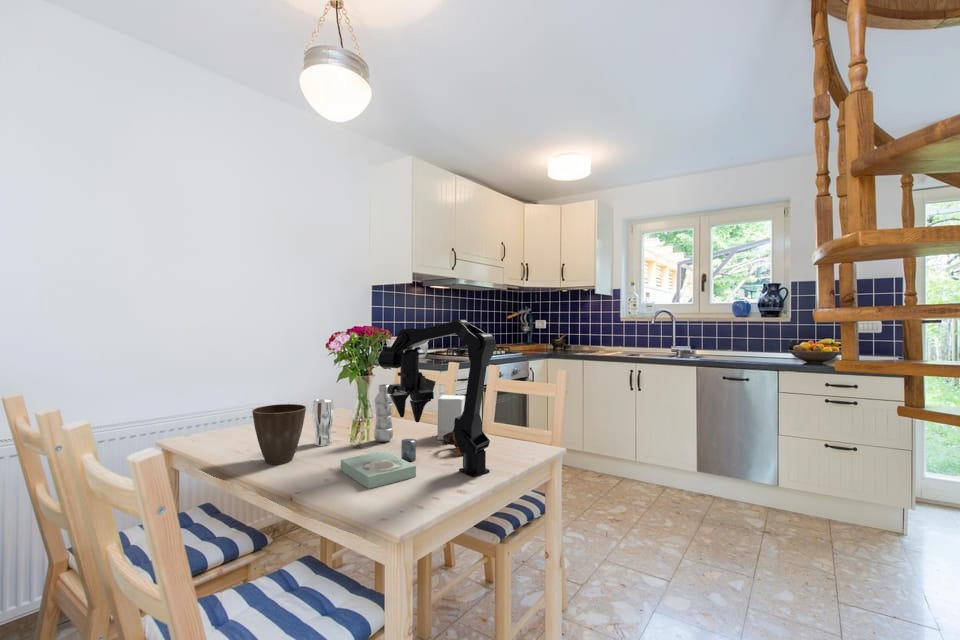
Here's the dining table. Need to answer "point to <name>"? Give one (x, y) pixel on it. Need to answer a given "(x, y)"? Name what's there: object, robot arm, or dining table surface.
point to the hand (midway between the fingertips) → (409, 419)
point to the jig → (378, 469)
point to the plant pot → (278, 431)
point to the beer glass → (323, 421)
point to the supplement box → (449, 413)
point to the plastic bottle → (383, 415)
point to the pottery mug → (451, 442)
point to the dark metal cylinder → (408, 450)
